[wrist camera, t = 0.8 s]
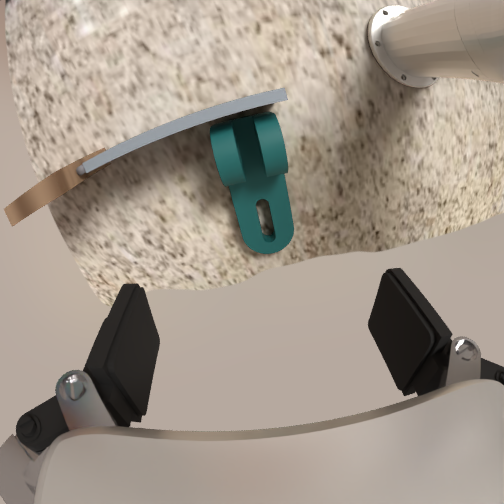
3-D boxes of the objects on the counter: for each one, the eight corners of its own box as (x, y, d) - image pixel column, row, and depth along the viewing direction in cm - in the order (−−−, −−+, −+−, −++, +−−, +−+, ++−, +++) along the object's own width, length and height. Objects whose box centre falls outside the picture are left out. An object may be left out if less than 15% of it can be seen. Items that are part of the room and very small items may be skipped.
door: (273, 91, 28) (284, 87, 21) (276, 100, 29) (288, 99, 22) (105, 151, 30) (74, 167, 23) (108, 159, 31) (78, 177, 24)
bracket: (214, 124, 30) (206, 130, 24) (269, 111, 30) (278, 114, 23) (247, 249, 40) (250, 283, 33) (294, 239, 39) (305, 271, 32)
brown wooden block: (104, 147, 30) (53, 172, 20) (110, 163, 32) (63, 194, 21) (54, 176, 31) (3, 209, 21) (60, 190, 33) (12, 226, 22)
